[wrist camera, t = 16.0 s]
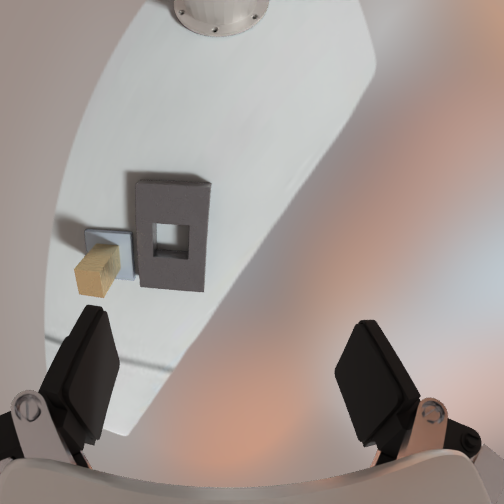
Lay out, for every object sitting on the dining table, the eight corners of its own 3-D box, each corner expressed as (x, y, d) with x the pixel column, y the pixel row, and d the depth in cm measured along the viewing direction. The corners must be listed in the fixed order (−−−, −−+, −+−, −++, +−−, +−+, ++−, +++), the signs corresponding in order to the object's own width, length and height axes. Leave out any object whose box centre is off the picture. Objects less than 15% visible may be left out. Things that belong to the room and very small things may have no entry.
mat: (86, 228, 38) (84, 231, 37) (132, 231, 39) (130, 234, 38) (93, 273, 41) (90, 276, 40) (135, 277, 42) (133, 280, 41)
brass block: (96, 243, 38) (74, 269, 31) (118, 245, 38) (99, 272, 31) (99, 266, 40) (79, 294, 32) (120, 268, 40) (103, 297, 33)
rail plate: (140, 179, 35) (135, 183, 33) (211, 183, 37) (210, 187, 35) (144, 278, 42) (140, 286, 40) (204, 283, 44) (203, 292, 42)
